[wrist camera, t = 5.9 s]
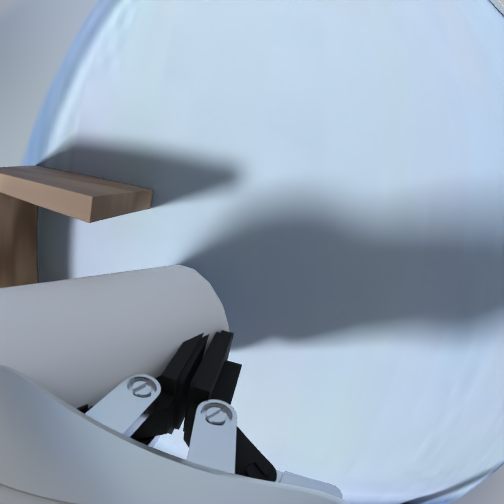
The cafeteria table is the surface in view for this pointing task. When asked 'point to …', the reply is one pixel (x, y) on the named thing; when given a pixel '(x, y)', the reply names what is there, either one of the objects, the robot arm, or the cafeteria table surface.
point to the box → (56, 199)
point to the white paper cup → (104, 328)
